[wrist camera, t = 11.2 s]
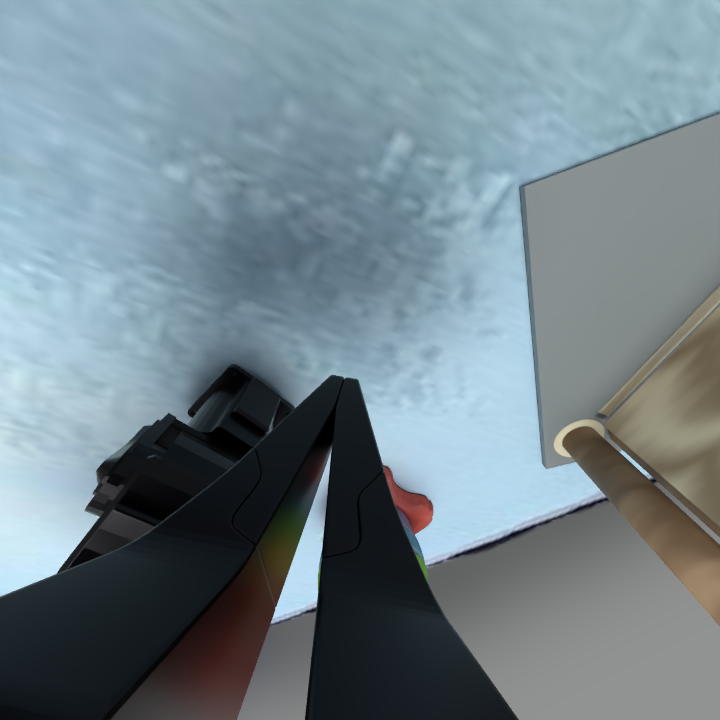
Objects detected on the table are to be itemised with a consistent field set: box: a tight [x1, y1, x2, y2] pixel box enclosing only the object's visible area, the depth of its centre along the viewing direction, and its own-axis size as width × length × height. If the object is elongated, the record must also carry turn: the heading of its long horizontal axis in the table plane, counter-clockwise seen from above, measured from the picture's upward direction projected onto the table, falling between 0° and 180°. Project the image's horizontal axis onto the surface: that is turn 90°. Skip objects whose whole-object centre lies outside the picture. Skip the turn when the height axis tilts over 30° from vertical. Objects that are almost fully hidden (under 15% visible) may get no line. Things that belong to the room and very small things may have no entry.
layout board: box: [520, 113, 720, 469], centre depth 22 cm, size 18×25×1 cm
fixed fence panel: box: [562, 426, 720, 626], centre depth 21 cm, size 11×3×13 cm, turn 109°
